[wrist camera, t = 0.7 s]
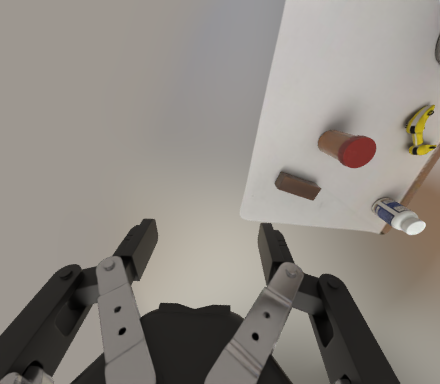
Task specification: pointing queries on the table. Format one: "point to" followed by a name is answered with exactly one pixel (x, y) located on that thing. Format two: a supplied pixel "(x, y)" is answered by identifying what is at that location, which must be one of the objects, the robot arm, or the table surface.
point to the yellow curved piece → (419, 130)
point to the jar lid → (356, 151)
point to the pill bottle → (398, 216)
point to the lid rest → (297, 186)
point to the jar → (332, 142)
